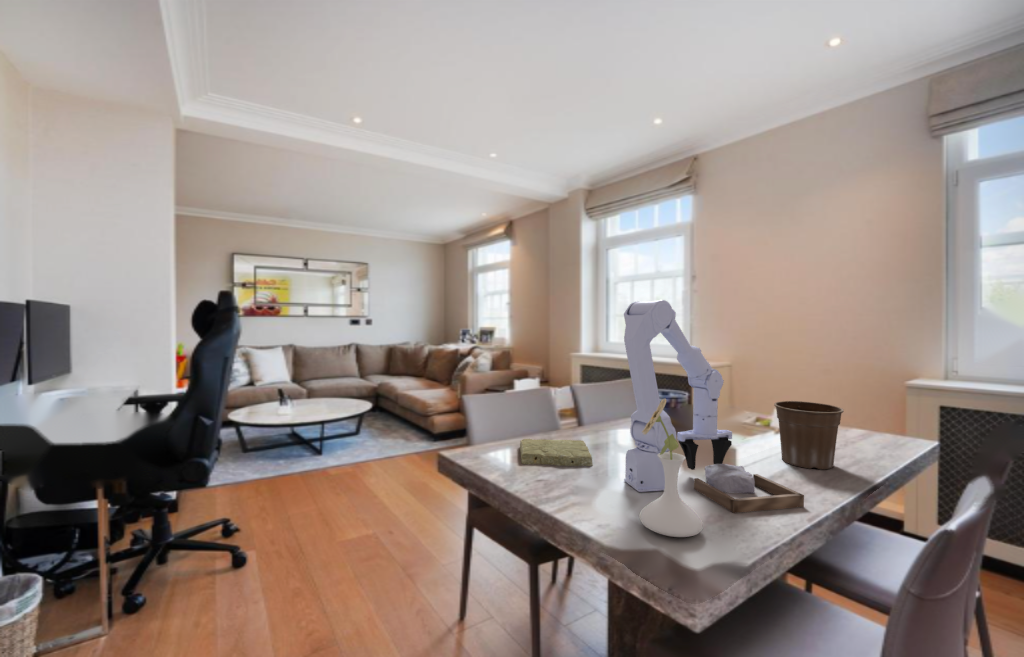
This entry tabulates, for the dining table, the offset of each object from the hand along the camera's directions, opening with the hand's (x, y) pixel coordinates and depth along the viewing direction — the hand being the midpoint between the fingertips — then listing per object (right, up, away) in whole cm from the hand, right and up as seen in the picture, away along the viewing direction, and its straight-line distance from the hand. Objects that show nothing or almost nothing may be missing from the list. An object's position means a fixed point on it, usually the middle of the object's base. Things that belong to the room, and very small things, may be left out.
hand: (704, 467), depth 114 cm
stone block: (+3, -2, -6) cm, 7 cm away
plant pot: (+33, -2, +11) cm, 35 cm away
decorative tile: (-37, -2, +16) cm, 40 cm away
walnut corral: (+3, -2, -15) cm, 15 cm away
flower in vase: (-20, -2, -31) cm, 37 cm away
